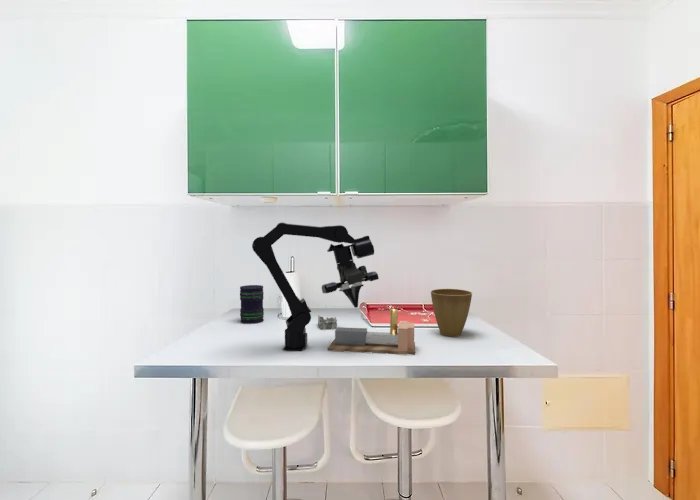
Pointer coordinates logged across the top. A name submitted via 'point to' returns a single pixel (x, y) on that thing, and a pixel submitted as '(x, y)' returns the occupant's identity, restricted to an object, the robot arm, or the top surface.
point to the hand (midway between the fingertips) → (356, 307)
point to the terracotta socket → (405, 336)
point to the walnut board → (371, 348)
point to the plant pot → (451, 310)
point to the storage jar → (251, 304)
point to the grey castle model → (327, 323)
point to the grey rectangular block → (350, 336)
